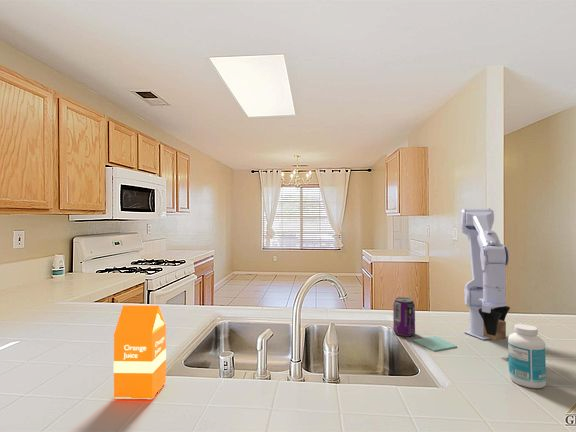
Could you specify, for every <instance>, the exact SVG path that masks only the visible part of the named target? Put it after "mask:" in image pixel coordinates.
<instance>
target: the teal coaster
mask: <svg viewBox="0 0 576 432" xmlns="http://www.w3.org/2000/svg"><path fill="white" fill-rule="evenodd" d="M413 341H414V342H415V343H417V344H419V345H421V346H422V347H424V348H427V349H429V350H431V351H432V352H437V351H442V350H443V351H444V350H450V349H455V348H456V349H457V348H458V345H455V344H453V343H451V342H449V341H447V340H444V339H442V338H440V337H438V336H429V337H424V338H423V337H422V338H417V339H416V338H415V339H413Z"/></svg>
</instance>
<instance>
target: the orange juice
mask: <svg viewBox="0 0 576 432" xmlns="http://www.w3.org/2000/svg"><path fill="white" fill-rule="evenodd" d="M115 326H116V327H115V330H114V332H113V398H114V397H131V398H153V397H154V396H155V394H156V393H157V392H158V391H159V389H160V388H161V387H162V386H163V384H164V383H165V382H166V381H167V377H166V376H167V364H166V362H167V349H166V347H167V344H166V342H167V341H166V339H167V336H166V335H167V334H166V331H167V330H166V329H167V328H166V326H167V325H166V323H165V319H164V317H163V314H162V311H161V307H160V306H159V305H131V304H130V305H127V304H126V305H122V309H121V310H120V314H119V317H118V320H117V324H116V325H115ZM166 383H167V382H166ZM163 387H164V386H163ZM163 387H162V388H163ZM159 392H160V391H159ZM159 392H158V393H159ZM155 397H156V396H155ZM155 397H154V398H155Z"/></svg>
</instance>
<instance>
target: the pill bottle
mask: <svg viewBox="0 0 576 432" xmlns="http://www.w3.org/2000/svg"><path fill="white" fill-rule="evenodd" d="M513 328H514V332H512V333H510V334H509V335H508V338H507V349H508V350H507V351H508V354H507V355H508V356H507V357H508V377H509V379H510V380H511V381H512V382H514V383H515V384H517V385H518V386H522V387H525V388H531V389H542V388H544V387H546V384H547V369H546V368H547V367H546V364H547V363H546V359H547V358H546V343H545V341H544V339H543V338H541V337H540V336H538V334H539V329H538V327H537V326H533V325H530V324H523V323H516V324H514V327H513Z"/></svg>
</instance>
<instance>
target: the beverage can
mask: <svg viewBox="0 0 576 432" xmlns="http://www.w3.org/2000/svg"><path fill="white" fill-rule="evenodd" d="M392 306H393V310H392V311H393V313H392V314H393V317H392V319H393V327H392V328H393V332H394V333H395V334H397V335H398V336H400V337H411V336H413V335H415V334H416V305H415V302H414V299H413V298H412V297H411V298H410V297H404V296H403V297H402V296H399V297H395V298H394V302H393V305H392Z"/></svg>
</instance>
